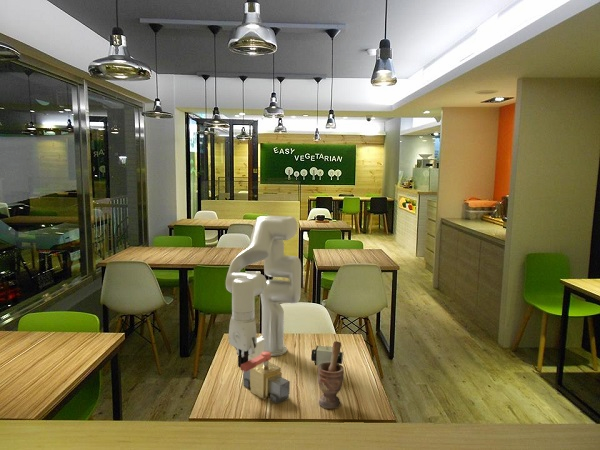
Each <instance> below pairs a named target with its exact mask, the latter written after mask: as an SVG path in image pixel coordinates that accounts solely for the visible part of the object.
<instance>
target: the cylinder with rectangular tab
mask: <svg viewBox="0 0 600 450" xmlns="http://www.w3.org/2000/svg"><path fill="white" fill-rule="evenodd" d="M254 350H255V353H254V354H250V355H248V361H249V360H252V359H254V358H256V357H257V356H259V355H261V353H262V352H264V338H260V336H259V337H257V345H256V348H254ZM261 364H263V363H261ZM259 365H260V364H259Z"/></svg>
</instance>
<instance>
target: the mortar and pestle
mask: <svg viewBox="0 0 600 450" xmlns="http://www.w3.org/2000/svg"><path fill="white" fill-rule="evenodd" d="M331 347H332V357H331V362H325V363H321V364H320V365H319V366H317V374H318V375H317V381H318V387H319V389H320V390H321V392H322V393H323V394H322V395H321V396H320V397H319V400H318V404H319V406H320V407H321V408H322V409H327V410H328V409H329V410H330V409H331V410H332V409H339V407H340V406H341V403H342V402H341V399H340V397H339V396H337V394H338V393H339V392H341V390H342V386H343V382H344V372H345V371H344V370H345V369H344V366H343V364H338V363H337V359H338V355H339V352H341V347H342V343H341V342H340V341H335V340H334V342H333V343H332V346H331Z"/></svg>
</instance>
